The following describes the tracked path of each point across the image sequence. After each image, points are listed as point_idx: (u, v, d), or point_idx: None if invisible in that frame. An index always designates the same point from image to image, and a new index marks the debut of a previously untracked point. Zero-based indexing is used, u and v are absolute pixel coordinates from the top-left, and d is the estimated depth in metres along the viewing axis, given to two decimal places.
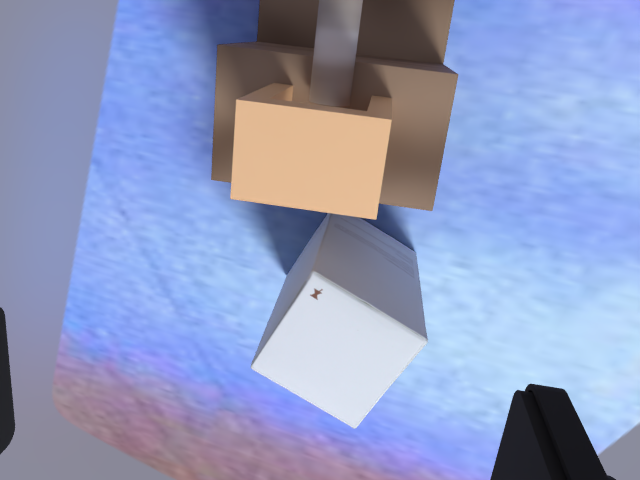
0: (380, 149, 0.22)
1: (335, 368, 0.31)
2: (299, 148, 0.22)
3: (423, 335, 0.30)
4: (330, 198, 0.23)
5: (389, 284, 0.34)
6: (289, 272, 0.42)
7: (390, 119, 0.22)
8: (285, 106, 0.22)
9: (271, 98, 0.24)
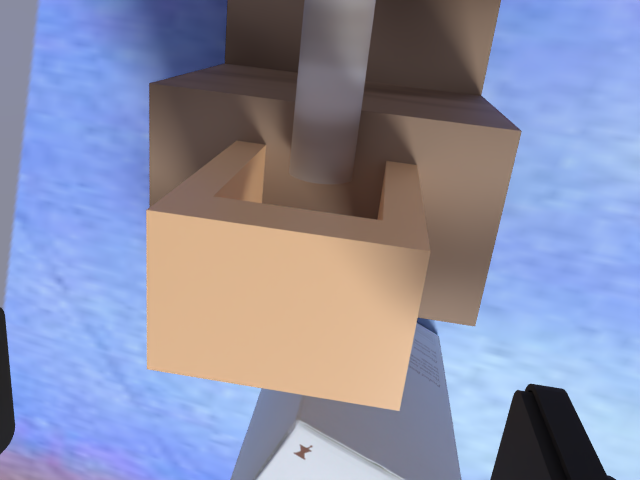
0: (408, 300, 0.12)
1: None
2: (262, 294, 0.13)
3: None
4: (319, 375, 0.13)
5: (408, 413, 0.24)
6: None
7: (427, 249, 0.12)
8: (235, 223, 0.12)
9: (218, 193, 0.14)
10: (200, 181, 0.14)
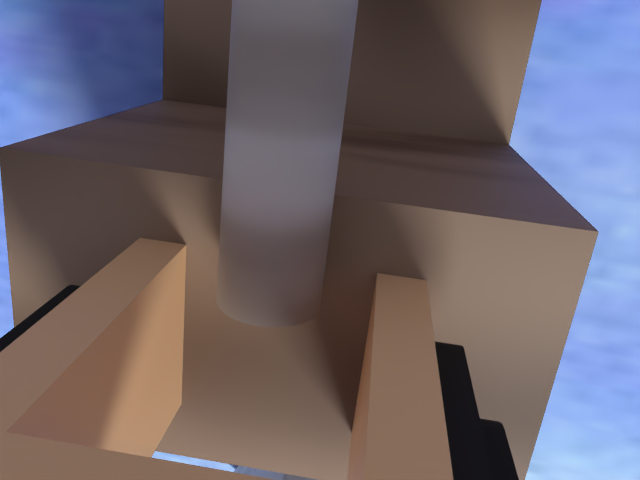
0: None
1: None
2: None
3: None
4: None
5: None
6: None
7: None
8: None
9: (27, 413, 0.07)
10: (8, 372, 0.07)
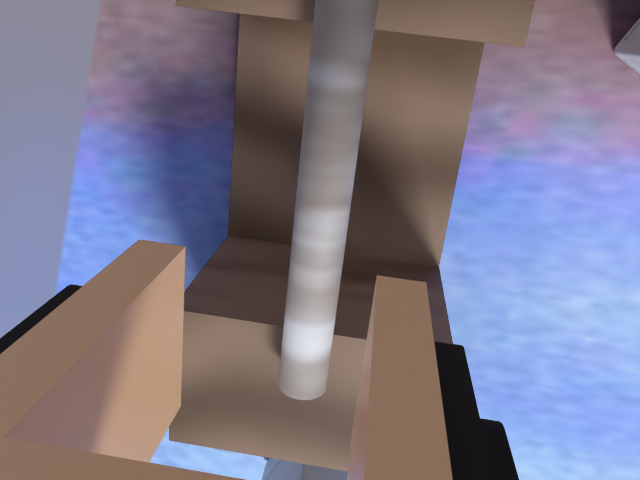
0: None
1: None
2: None
3: None
4: None
5: None
6: (269, 464, 0.38)
7: None
8: None
9: (24, 418, 0.07)
10: (6, 376, 0.07)
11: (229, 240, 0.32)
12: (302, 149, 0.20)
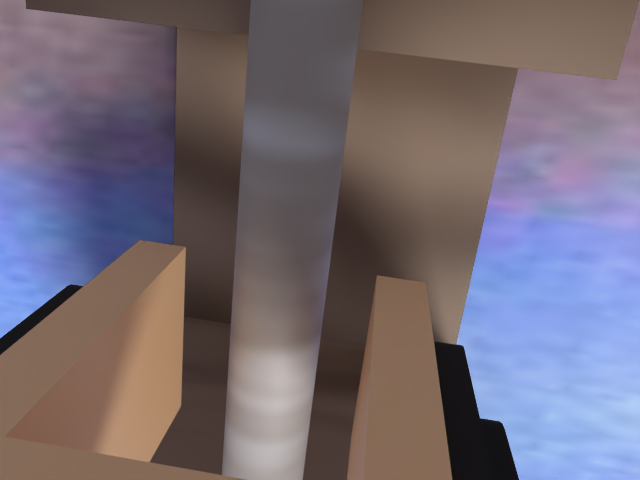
0: None
1: None
2: None
3: None
4: None
5: None
6: None
7: None
8: None
9: (25, 417, 0.07)
10: (7, 376, 0.07)
11: None
12: (236, 250, 0.12)
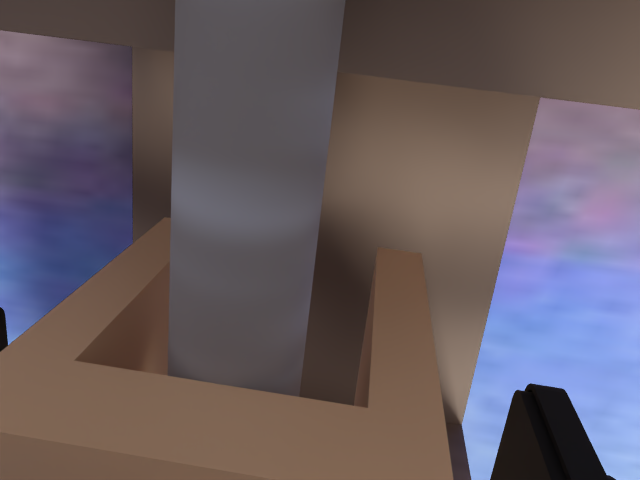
0: None
1: None
2: None
3: None
4: None
5: None
6: None
7: None
8: (86, 445, 0.06)
9: (88, 348, 0.08)
10: (68, 319, 0.09)
11: None
12: (168, 358, 0.08)
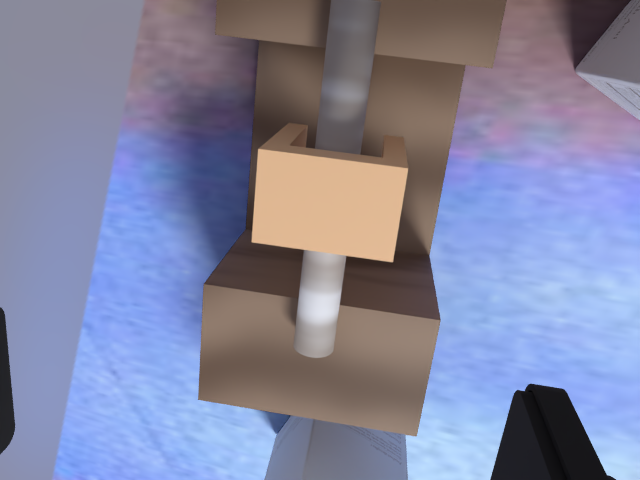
0: (397, 196, 0.23)
1: None
2: (318, 195, 0.23)
3: None
4: (348, 242, 0.24)
5: None
6: (279, 436, 0.43)
7: (406, 167, 0.23)
8: (305, 155, 0.23)
9: (290, 144, 0.25)
10: (278, 139, 0.25)
11: (247, 232, 0.37)
12: None
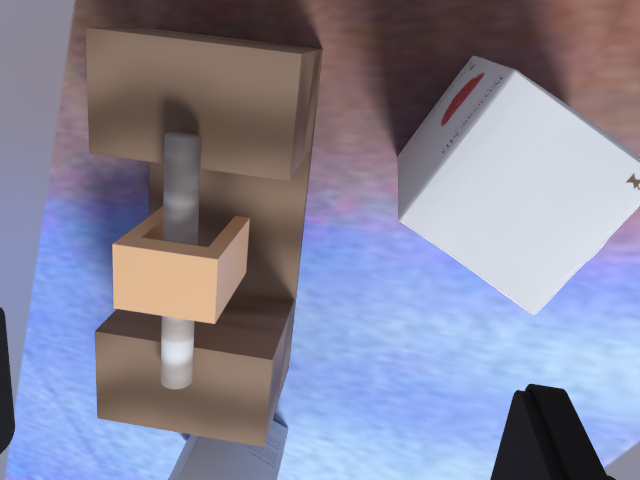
0: (212, 278, 0.32)
1: None
2: (157, 276, 0.32)
3: None
4: (182, 309, 0.33)
5: None
6: (186, 443, 0.52)
7: (217, 258, 0.32)
8: (146, 249, 0.32)
9: (143, 236, 0.34)
10: (137, 230, 0.34)
11: None
12: (163, 238, 0.34)
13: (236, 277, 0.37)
